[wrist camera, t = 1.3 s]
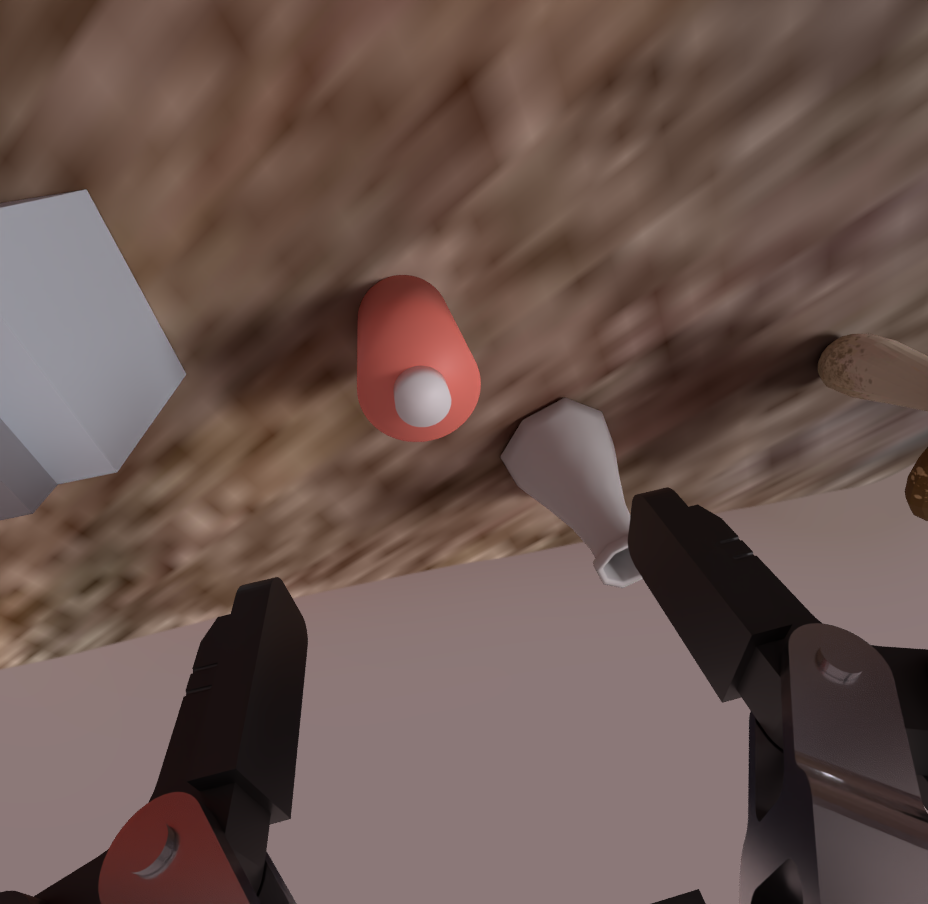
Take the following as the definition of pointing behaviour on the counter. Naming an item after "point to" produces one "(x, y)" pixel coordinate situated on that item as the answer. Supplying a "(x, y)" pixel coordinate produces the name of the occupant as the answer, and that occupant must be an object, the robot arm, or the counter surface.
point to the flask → (576, 481)
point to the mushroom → (882, 388)
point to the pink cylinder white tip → (413, 362)
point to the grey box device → (71, 351)
